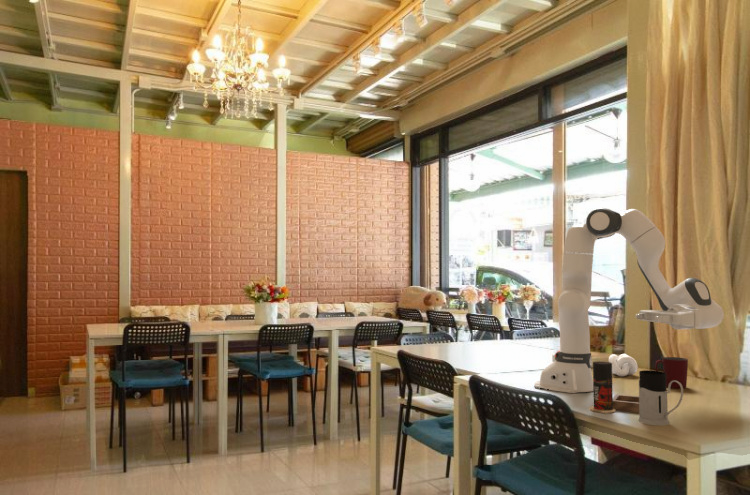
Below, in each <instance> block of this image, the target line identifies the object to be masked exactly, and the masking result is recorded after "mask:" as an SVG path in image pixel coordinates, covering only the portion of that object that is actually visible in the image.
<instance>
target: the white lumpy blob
mask: <svg viewBox="0 0 750 495" xmlns="http://www.w3.org/2000/svg"><path fill="white" fill-rule="evenodd" d="M608 362H610V363H612V375H617V376H618V377H626V376H632V375H635V374H636V373H637V371H638V363H637V361H636V360H635V358H633V356H630V355H628V354H626V353H622V354H619V355H617V354H615V353H614V354H610V355H609V356H608Z"/></svg>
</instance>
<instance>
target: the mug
mask: <svg viewBox="0 0 750 495" xmlns="http://www.w3.org/2000/svg"><path fill="white" fill-rule="evenodd" d="M688 360H689V359H688V358H685V357H678V356H677V357H676V356H665V357H662V360H661V359H658V360H656V361H655V365H654V369H655V370H654V371H659V370H658V364H659V363H662V367H663V368H662V369H663V372H665V373H666V388H668V385H669V383H670V382H671V381H678V382H680V383H681V384H682V387H683V389H686V388H687V384H688V382H687V381H688V370H689V369H688V367H689V364H688V363H689V361H688ZM680 388H681V387H680V385H679V384H678V383H677V382H672V384H671V387H670V389H680ZM680 390H681V389H680Z"/></svg>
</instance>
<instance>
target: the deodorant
mask: <svg viewBox="0 0 750 495" xmlns="http://www.w3.org/2000/svg"><path fill="white" fill-rule="evenodd" d="M592 380H593V391H592V392H593V393H592V394H593V406H594V409H597V410H603V411H609V410H613V397H614V395H613V373H612V363H610V362H609V361H599V360H598V361H592Z"/></svg>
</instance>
